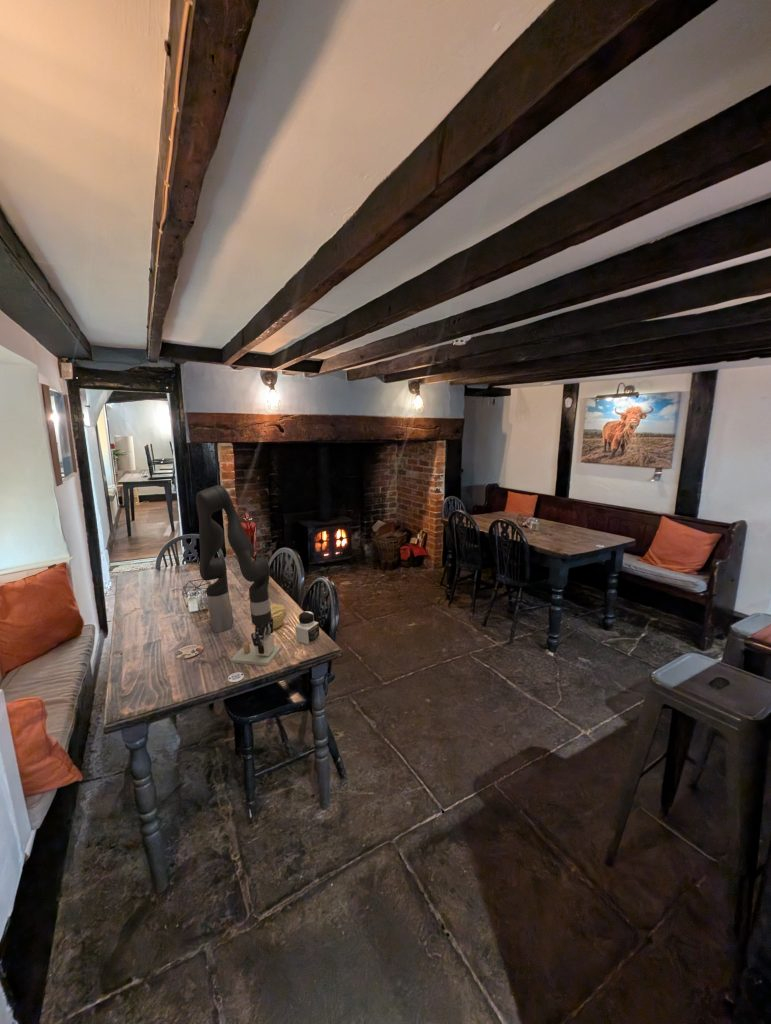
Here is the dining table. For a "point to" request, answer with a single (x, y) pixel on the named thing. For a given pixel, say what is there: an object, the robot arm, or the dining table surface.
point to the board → (253, 655)
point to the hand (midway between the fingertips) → (265, 649)
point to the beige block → (266, 645)
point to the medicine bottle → (307, 628)
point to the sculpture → (277, 614)
